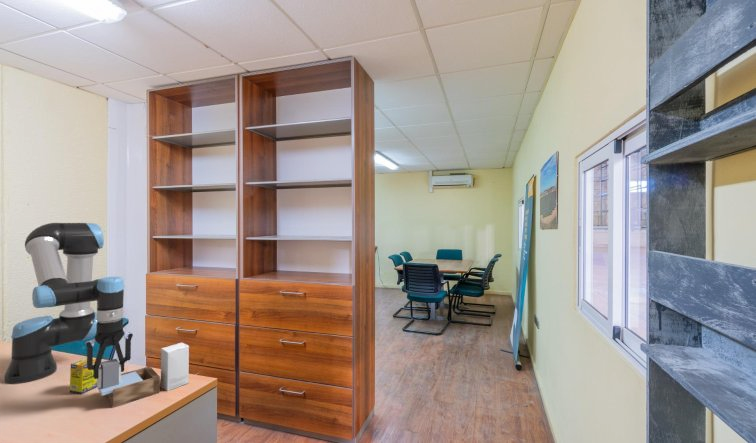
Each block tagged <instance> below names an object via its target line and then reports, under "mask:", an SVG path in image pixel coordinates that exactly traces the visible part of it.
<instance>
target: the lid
mask: <svg viewBox="0 0 756 443" xmlns="http://www.w3.org/2000/svg"><path fill="white" fill-rule="evenodd" d="M100 368H101V369H102V378H101V388H98V386H97V382H96V386H97V387H96V388H97V389H98V391H99V393H100V395H101V397H102V396H105V395H106V394H109V393H113V389H116V388H119V387H123V386H126V385H130V384H133V383H136V382H140V381H143V380H142V378H141V377H140V376H139V375H138V374H137V373H136V371H135V372H132V373H128V374H124V375H121V382H119V359H118V358H113V359H109V360H105V361H101V364H100Z"/></svg>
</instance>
